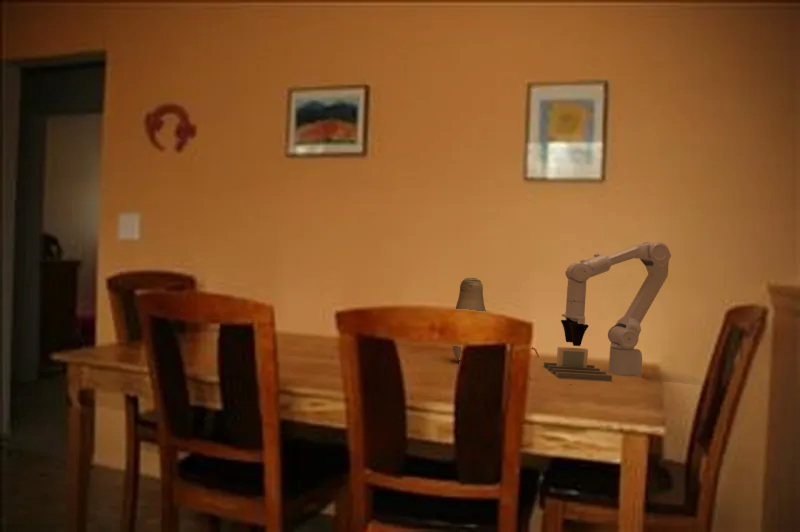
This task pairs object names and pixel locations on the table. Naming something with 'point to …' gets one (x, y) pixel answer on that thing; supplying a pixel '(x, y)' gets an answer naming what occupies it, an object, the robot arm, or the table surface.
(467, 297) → the grey tall rounded piece
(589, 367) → the ridged panel
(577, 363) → the picture frame
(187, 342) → the table surface
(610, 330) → the robot arm
